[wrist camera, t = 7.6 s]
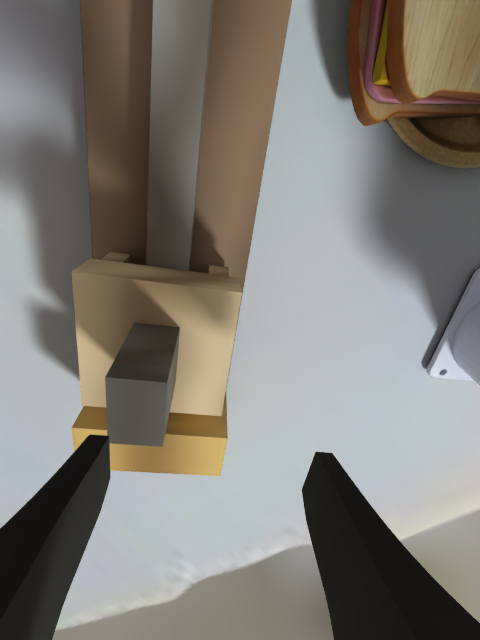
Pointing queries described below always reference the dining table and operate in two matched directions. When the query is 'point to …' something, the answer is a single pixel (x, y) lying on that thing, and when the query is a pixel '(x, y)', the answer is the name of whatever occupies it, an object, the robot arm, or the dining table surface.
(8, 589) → the robot arm
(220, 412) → the tan tabbed slider block
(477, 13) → the toy sandwich meal
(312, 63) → the dining table surface
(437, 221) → the dining table surface
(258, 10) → the rail
